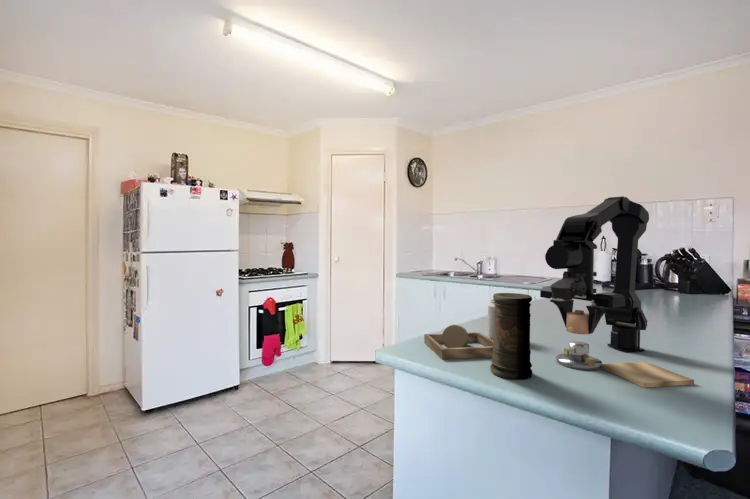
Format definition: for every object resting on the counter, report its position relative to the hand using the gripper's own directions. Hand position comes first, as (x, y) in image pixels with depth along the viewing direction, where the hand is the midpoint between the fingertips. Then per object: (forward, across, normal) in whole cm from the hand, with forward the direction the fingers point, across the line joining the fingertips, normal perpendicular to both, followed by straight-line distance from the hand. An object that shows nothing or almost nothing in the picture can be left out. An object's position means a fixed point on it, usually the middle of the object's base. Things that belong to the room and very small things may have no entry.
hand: (579, 330), depth 94 cm
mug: (+8, -25, -17) cm, 32 cm away
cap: (0, 0, 0) cm, 0 cm away
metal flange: (+8, 0, 0) cm, 8 cm away
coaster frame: (+8, -23, -17) cm, 30 cm away
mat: (+8, +12, +5) cm, 16 cm away
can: (+8, -26, +1) cm, 28 cm away
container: (+8, -3, -20) cm, 22 cm away
